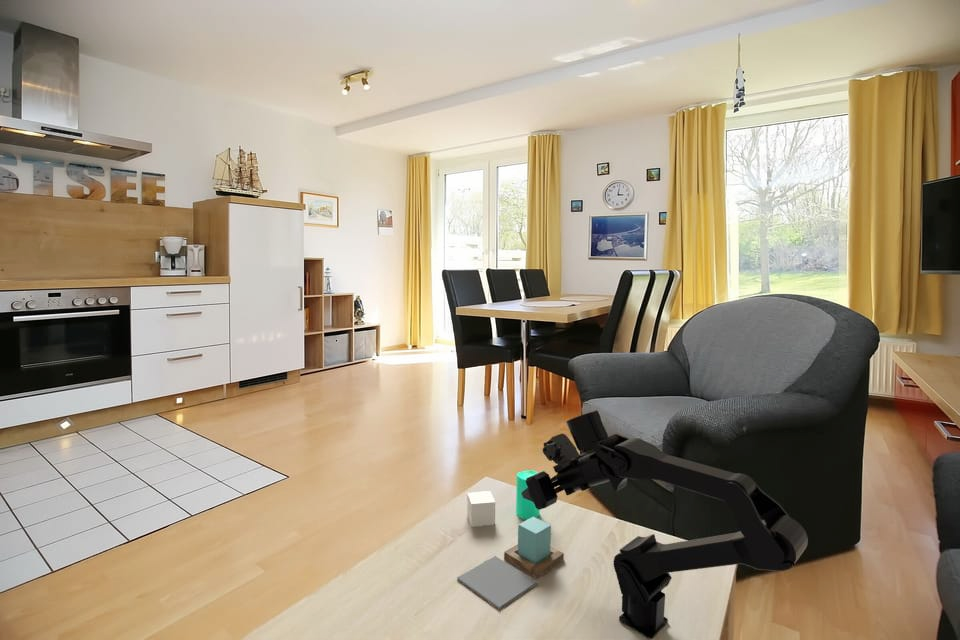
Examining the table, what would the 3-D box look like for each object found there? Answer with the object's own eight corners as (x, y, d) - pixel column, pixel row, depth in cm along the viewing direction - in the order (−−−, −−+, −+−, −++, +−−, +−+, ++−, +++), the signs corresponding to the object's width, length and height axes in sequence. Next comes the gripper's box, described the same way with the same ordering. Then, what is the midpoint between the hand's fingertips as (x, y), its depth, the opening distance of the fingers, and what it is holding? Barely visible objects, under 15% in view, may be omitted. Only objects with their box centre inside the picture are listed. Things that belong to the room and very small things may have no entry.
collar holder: (563, 559, 110) (563, 553, 109) (536, 577, 103) (536, 571, 103) (531, 542, 116) (531, 536, 116) (504, 558, 110) (504, 551, 110)
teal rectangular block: (550, 559, 110) (550, 525, 109) (535, 569, 106) (536, 533, 105) (532, 549, 113) (533, 516, 112) (517, 558, 110) (518, 524, 109)
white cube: (489, 512, 130) (490, 490, 129) (495, 525, 124) (495, 502, 123) (467, 515, 129) (467, 492, 128) (471, 527, 123) (471, 504, 122)
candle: (539, 508, 132) (540, 464, 131) (539, 520, 126) (540, 474, 125) (516, 507, 133) (517, 463, 131) (515, 518, 127) (516, 473, 125)
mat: (537, 583, 101) (537, 581, 101) (499, 609, 94) (499, 607, 94) (495, 558, 110) (495, 555, 110) (457, 579, 102) (457, 577, 102)
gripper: (599, 420, 106) (549, 441, 116) (543, 442, 93) (492, 463, 103) (622, 472, 102) (569, 489, 113) (567, 502, 90) (512, 517, 100)
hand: (536, 488), depth 108 cm, fingers open, 9 cm apart
